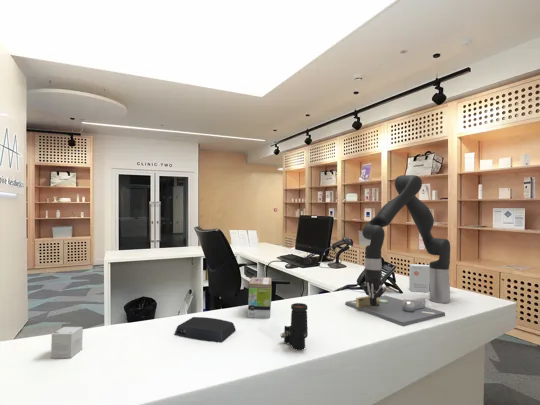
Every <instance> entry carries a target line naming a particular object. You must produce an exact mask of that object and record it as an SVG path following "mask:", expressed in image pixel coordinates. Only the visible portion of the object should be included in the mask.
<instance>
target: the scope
mask: <svg viewBox="0 0 540 405" xmlns="http://www.w3.org/2000/svg"><path fill="white" fill-rule="evenodd" d="M290 308H291V313H290V314H291V315H290V325H284V328H283V330H284V331H283V332H281V335H280V338H281V339H284V340H283V342H284V343H285V345H286V344H287V343H288V344H289V345H290V346H291V345H292V346H291V347H292V349H293V350H296V349H297V350H296V351H303V350H305V349H304V348H306V339H307V338H308V335H309V334H308V311H307V310H308V304H306V303H304V302H303V303H302V302H295V303H292V304H291V305H290ZM288 344H287V345H288ZM302 349H303V350H302Z"/></svg>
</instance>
